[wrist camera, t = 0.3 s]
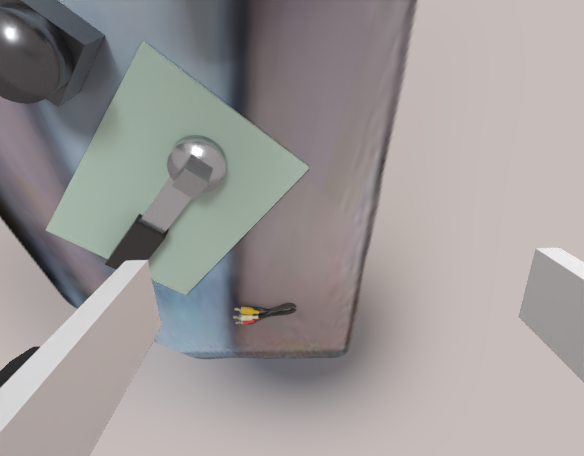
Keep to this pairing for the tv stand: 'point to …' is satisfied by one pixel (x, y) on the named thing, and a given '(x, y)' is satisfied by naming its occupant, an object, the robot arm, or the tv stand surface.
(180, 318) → the tv stand surface
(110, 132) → the tool mat
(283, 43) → the tv stand surface
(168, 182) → the ratchet
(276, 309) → the composite cable
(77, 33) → the dark grey door knob
